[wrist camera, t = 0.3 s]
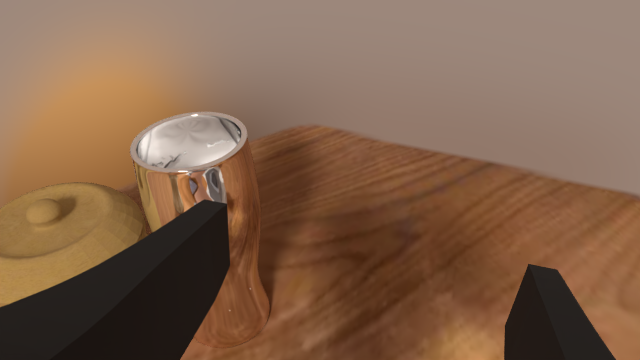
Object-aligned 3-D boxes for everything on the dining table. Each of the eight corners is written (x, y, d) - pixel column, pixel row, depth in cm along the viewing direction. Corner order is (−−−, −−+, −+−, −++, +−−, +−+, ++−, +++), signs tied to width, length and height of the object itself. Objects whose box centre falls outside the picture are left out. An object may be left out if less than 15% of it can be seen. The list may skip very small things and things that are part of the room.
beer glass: (160, 334, 37) (98, 158, 28) (216, 269, 42) (178, 102, 33) (244, 368, 34) (203, 185, 25) (292, 294, 39) (272, 120, 31)
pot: (197, 278, 41) (170, 176, 35) (80, 402, 33) (20, 294, 27) (92, 237, 46) (53, 141, 40) (-33, 337, 37) (-105, 233, 32)
